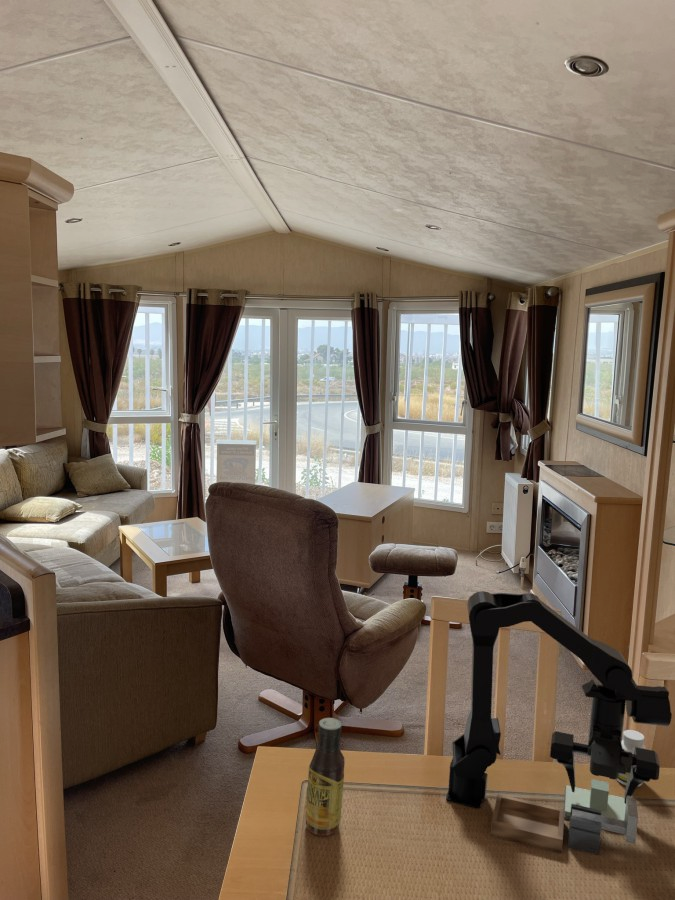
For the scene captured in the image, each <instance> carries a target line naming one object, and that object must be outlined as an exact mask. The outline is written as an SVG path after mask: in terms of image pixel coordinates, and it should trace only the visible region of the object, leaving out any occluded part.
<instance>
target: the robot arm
mask: <svg viewBox="0 0 675 900" xmlns="http://www.w3.org/2000/svg"><path fill="white" fill-rule="evenodd" d="M466 605H467V613H468V620H469V627H470V633H471V639H472V651H471V653H472V655H471V663H472V664H471V686H470V687H471V693H470V710H469V713H468V716H467V719H466V723H465V728H464V733H463V734H462V735H460V736H459V737H458V738H456V739H455V740H454V741H452V743H451V745H452V759H451V762H450V766H449V775H448V776H449V777H448V788H447V789H448V791H447V793H446V797H445V800H446V801H448V802H451V803H453V804H454V803H456V804H459V805H464V806H467V807H472V808H475V809H480V808H481V807H482V803H483V802H484V801H485V799H486V797H487V788H488V778H489V777H488V775H489V774H488V773H487V772H486V771H487V769H488V768H489V767H490V766H492V765H493V764H495V763H496V762H497V756H498V755H499V756H501V755H502V754H501V749H500V748H501V747H500V742H501V737H502V736H501V735H502V733H501V728H500V727H501V726H500V722H499V718H498V717H492V701H493V695H492V694H493V673H494V671H493V667H494V647H495V644H496V642H497V639H498V635H499V632H500V629H501V628H509V627H513V626H516V625H519V624H521V623H525V622H526V623H527V622H528V623H529V622H531V623H532V624H534V625H535V626H536V627H538V628H539V629H540V630H542V631H543V632H544V633H545V634H547V635H548V636H550V637H551V638H552V639H553V640H554V641H556V642H557V643H558V644H560V645H561V646H562V647H564V648H565V649H566V650H568V651H569V652H571V653H572V654H573V655H574V656H576V657H577V658H578V659H579V660H581V662H582V663H583V664H584V665H585V667H586V668H587V669H588V671H590V672H591V674H592V675H593V676H594V677H595V678H596V679H597V680H598V682H600V684H599V683H597V682H596V681H595V680H594V679H590V680H589V681H588V682H586V683H584V684H582V685H581V689H582V691H583V694H584V696H585V697H586V698H592V700H591V710H590V720H589V730H588V739H587V740H588V741H587V744H586V743H585V744H584V743H580V742H575V741H574V734H571V733H568V732H567V733H566V732H561V731H556V730H555V731H554V732H552V734H551V743H550V753H549V757H550V758H552V759H554V760H556V763H558V764H561V765H563V767H564V769H565V771H566V774H567V777H568V780H569V786H571V789H572V792H575V787H576V766H575V765H576V764H575V755H579V756H580V755H581V756H586V757H588V758H589V757H590V761H589V772H590V774H592V775H594V776H596V777H599V776H600V777H604V778H609V780H610V779H611V780H617V778H618V776H619V773H620V774H626V772H627V773H629V775H628V780H627V784H626V785H625V790H624V796H623V798H624V803H625V804H626V799H627V795H628V796H632V797H633V794H634V792H635V791H636V789H637V788H638V787H637V786H638V785H639V784H640V783H641V782H643V783H644V782H646V783H649V782H650V781H651V780H653V781H657V780H659V778H660V768H661V767H660V761H659V755H658V753H657V752H656V751H655V750H652V749H647V748H646V749H642V748H637V747H635V749H634V754H632V753H631V752H626V751H624V749H622V744H621V743H622V740H623V732H624V722H625V712H626V715H627V716H628V718H629V717H630V718H632V721H633V723H634V724H642V725H643V724H644V725H653V726H663V727H669V726H670V724H671V721H672V716H673V715H672V711H671V701H670V698H669V697H670V692H669V690H668V688H667V687H665V686H659V685H658V686H650V685H649V686H648V685H639V684H638V685H637V683H636V682H635V680H634V678H633V671H632V668H631V667H630V664H628V662H627V660H626V659H625V657H624V655H623V654H622V652H620V651H619V650H618V649H616V648H614V647H612V646H611V645H608V644H607V643H605V642H604V641H603V642H602V641H600V640H596V639H594V638H592V637H590V636H588V635H587V634H585V633H584V632H583V631H582V630H580V629H579V628H578V627H577V626H575V624H572V623H571V622H570V621H568V620H567V619H566V618H565V617H563V616H562V615H561V614H559V613H558V612H557V611H555V610H554V609H552V608H551V607H550V606H549V605H547V603H545V602H544V601H542V600H541V599H540V598H539V596H537V595H536V594H534V593H530V592H529V593H508V592H497V593H496V592H494V593H490V592H489V591H483V590H480V591H477V592H474V593H473V594H472V595H471V596H470V597H468V599H467V604H466Z"/></svg>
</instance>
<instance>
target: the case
mask: <svg viewBox="0 0 675 900" xmlns="http://www.w3.org/2000/svg"><path fill="white" fill-rule="evenodd" d="M564 810H565V809H564V808H561V807H556V806H552V805H547V804H543V803H538V802H536V801H535V802H534V801H531V800H526V799H521V798H516V797H512V796H508V795H505V794H499V793H497V794H496V800H495V805H494V809H493V814H492V818H491V823H490V824H491V825H490V826H491V827H490V837H494V838H498V839H502V840H506V841H509V842H510V841H511V842H514V843H518V844H523V845H525V846H531V847H534V848H538V849H542V850H547V851H551V852H555V853H557V854H562V851H563V841H564V825H565V819H564Z"/></svg>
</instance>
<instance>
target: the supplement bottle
mask: <svg viewBox="0 0 675 900" xmlns="http://www.w3.org/2000/svg"><path fill="white" fill-rule="evenodd" d="M621 744H622V749H624V751H626V752H631V753H632V754H634V749H635V747H637V748H642V749H647V747H646V746H645V736H644V734H643V733H641V732H640V731H638V730H633V729H626V730H623V734H622V743H621ZM628 775H629V773H627V772H626V774H620V773H619V776H618V778H617V779H616V780H617V782H619V783H620V784H622V785H624V786H626V784H627V780H628ZM643 784H644V782H641V783H640V784H639V785H638V786H637V788H639V787H640V786H642V785H643Z"/></svg>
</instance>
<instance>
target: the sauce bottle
mask: <svg viewBox="0 0 675 900" xmlns="http://www.w3.org/2000/svg"><path fill="white" fill-rule="evenodd" d="M317 731H318V742H317V746H316V748H315V751H314V754H313V756H312V759H311V761H310V763H309V765H308V766H309V767H308V777H307V789H306V790H307V791H306V805H305V815H304V816H305V825H306V829H307V830H308V831H309V832H310V833H311V834H313V835H316V836H319V837H320V836H321V837H327V836H331V835H333V834H335V833H337V831H339V827H340V824H341V818H342V807H343V806H342V805H343V792H344V779H345V763H346V762H345V755H343V752H342V751H341V748H340V746H341V743H340V741H341V740H340V739H341V734H342V731H343V724H342V722H341V721H340V720H339V719H336V718H334V717H324V718H322V719H320V720H319V721H318V727H317Z"/></svg>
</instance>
